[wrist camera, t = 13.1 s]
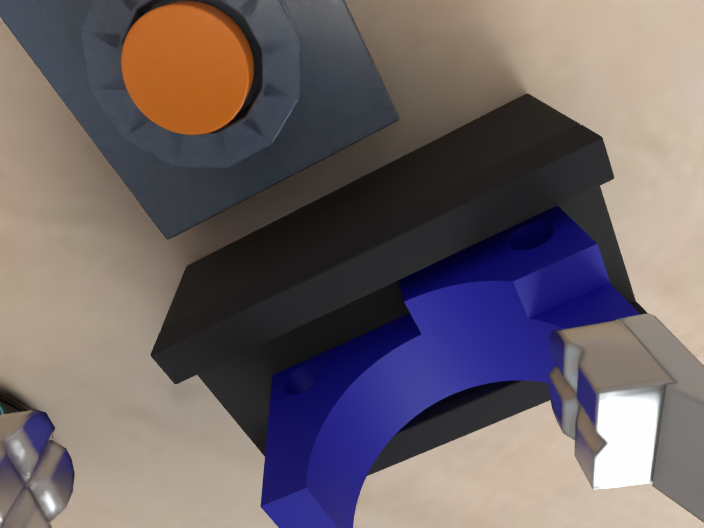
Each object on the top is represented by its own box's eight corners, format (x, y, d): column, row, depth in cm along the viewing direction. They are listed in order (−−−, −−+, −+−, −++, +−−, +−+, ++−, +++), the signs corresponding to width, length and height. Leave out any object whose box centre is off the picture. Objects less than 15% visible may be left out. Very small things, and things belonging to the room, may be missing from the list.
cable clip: (557, 205, 19) (651, 296, 14) (592, 304, 21) (686, 416, 16) (251, 347, 21) (232, 474, 16) (309, 426, 23) (310, 563, 18)
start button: (275, 89, 18) (272, 100, 17) (181, 140, 19) (169, 156, 17) (213, -23, 17) (203, -22, 15) (111, 37, 17) (92, 44, 16)
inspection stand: (589, 268, 27) (666, 352, 21) (288, 403, 29) (283, 511, 23) (528, 92, 23) (602, 136, 17) (185, 266, 25) (148, 355, 19)
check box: (392, 106, 22) (408, 133, 19) (178, 219, 24) (155, 262, 20) (259, -178, 18) (247, -212, 15) (7, -18, 20) (-58, -13, 16)
